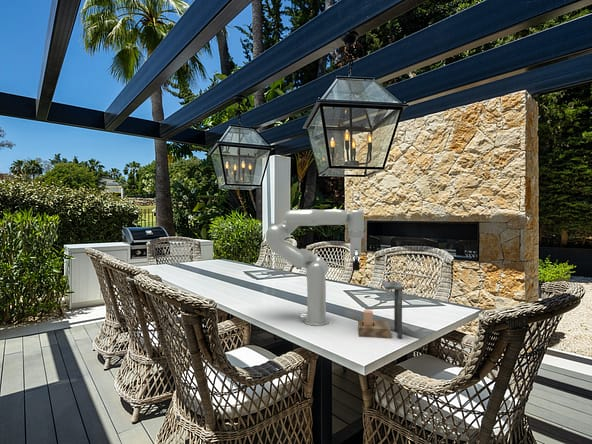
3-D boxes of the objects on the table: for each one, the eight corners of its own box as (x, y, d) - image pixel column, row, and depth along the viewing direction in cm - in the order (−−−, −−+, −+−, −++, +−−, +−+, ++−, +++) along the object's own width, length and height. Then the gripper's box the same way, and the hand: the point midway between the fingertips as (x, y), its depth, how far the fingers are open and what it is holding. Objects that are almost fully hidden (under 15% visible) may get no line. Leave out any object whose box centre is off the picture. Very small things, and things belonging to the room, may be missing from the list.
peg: (363, 333, 154) (364, 312, 154) (363, 330, 158) (363, 310, 158) (372, 334, 153) (372, 312, 153) (372, 331, 157) (372, 310, 157)
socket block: (358, 336, 150) (358, 285, 150) (358, 327, 162) (358, 281, 162) (403, 339, 147) (403, 287, 147) (399, 330, 159) (399, 282, 159)
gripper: (348, 233, 175) (348, 266, 175) (348, 235, 158) (348, 271, 158) (363, 234, 174) (362, 266, 174) (364, 235, 157) (364, 271, 157)
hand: (355, 268), depth 166 cm, fingers open, 9 cm apart
